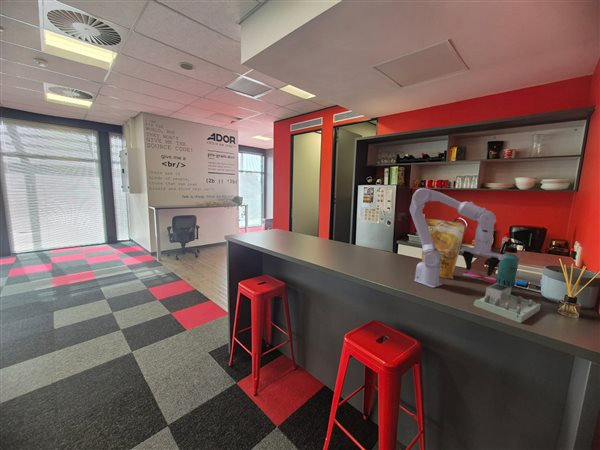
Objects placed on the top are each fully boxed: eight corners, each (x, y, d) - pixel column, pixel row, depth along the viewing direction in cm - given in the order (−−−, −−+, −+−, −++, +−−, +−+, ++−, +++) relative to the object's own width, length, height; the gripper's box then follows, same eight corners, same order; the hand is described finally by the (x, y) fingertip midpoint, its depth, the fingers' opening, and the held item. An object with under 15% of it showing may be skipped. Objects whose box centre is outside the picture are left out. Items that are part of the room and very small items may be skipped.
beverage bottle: (490, 289, 110) (497, 245, 107) (500, 287, 112) (507, 244, 109) (507, 295, 104) (515, 249, 101) (517, 293, 106) (525, 248, 103)
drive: (484, 300, 94) (486, 286, 94) (495, 296, 99) (497, 282, 98) (499, 306, 91) (501, 291, 90) (509, 300, 95) (511, 286, 95)
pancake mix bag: (421, 268, 138) (426, 217, 133) (459, 278, 123) (466, 222, 119) (415, 270, 134) (420, 218, 129) (453, 281, 119) (461, 223, 114)
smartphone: (497, 283, 117) (462, 273, 128) (497, 285, 117) (462, 275, 128) (502, 280, 121) (468, 271, 133) (502, 282, 121) (467, 272, 133)
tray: (473, 305, 94) (475, 295, 93) (494, 295, 103) (496, 286, 103) (520, 323, 82) (522, 311, 82) (539, 310, 92) (541, 300, 91)
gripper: (459, 237, 106) (455, 268, 108) (500, 245, 93) (494, 279, 95) (467, 236, 109) (463, 266, 111) (508, 243, 97) (502, 276, 99)
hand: (478, 272), depth 104 cm, fingers open, 7 cm apart
